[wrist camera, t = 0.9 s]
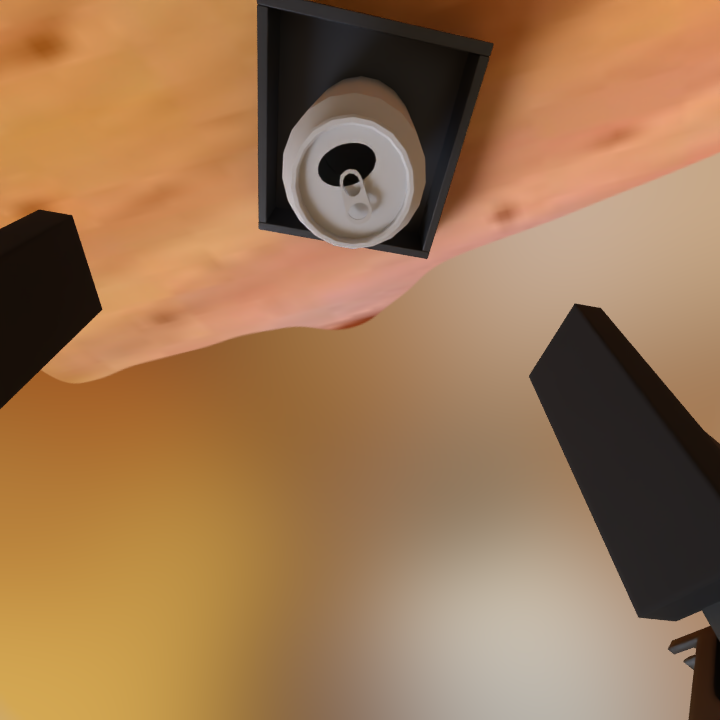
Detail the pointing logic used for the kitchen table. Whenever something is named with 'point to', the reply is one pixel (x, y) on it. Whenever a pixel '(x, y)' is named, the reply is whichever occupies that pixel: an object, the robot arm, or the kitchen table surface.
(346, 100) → the can
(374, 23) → the bin
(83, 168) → the kitchen table surface
